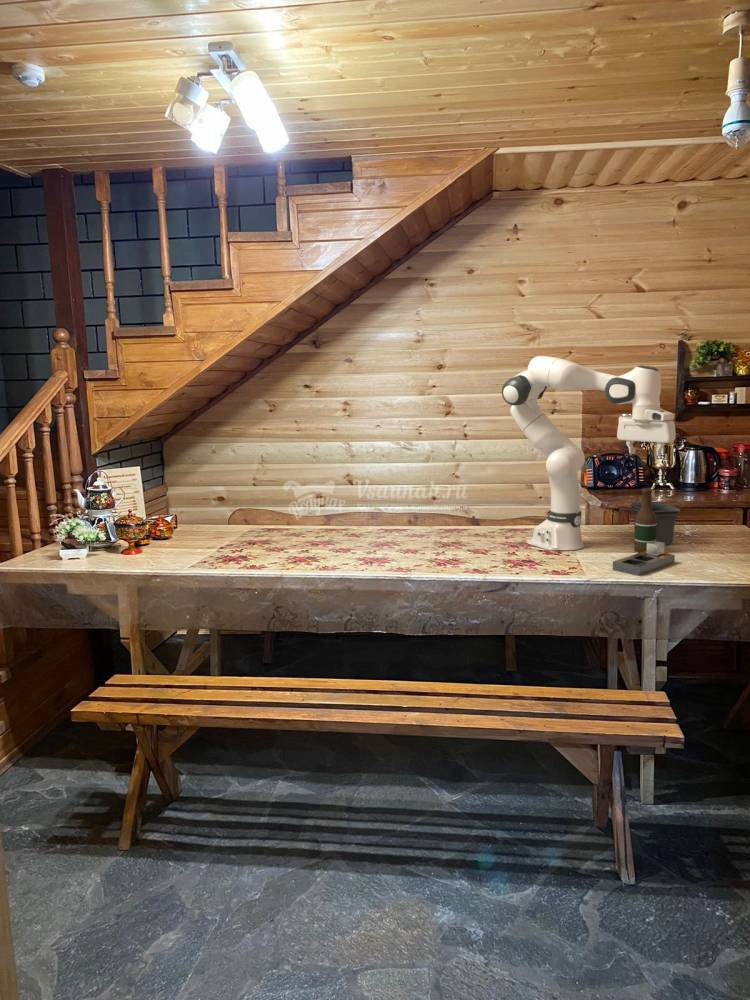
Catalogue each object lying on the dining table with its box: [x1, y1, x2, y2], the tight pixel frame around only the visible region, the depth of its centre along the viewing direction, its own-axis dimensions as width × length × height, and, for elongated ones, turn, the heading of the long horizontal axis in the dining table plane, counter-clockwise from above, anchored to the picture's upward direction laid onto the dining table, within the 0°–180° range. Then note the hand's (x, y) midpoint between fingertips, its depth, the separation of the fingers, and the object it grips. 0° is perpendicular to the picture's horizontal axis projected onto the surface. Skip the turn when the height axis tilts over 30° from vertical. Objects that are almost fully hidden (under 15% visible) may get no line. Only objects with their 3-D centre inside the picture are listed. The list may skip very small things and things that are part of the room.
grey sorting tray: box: [612, 551, 676, 577], centre depth 253 cm, size 10×22×4 cm, turn 128°
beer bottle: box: [633, 487, 657, 554], centre depth 273 cm, size 8×8×24 cm
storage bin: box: [629, 501, 681, 546], centre depth 289 cm, size 21×16×14 cm
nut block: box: [646, 541, 665, 557], centre depth 258 cm, size 4×4×7 cm
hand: (644, 454), depth 251 cm, fingers open, 8 cm apart
